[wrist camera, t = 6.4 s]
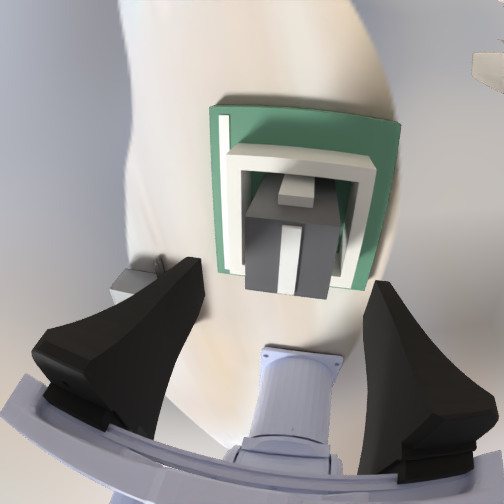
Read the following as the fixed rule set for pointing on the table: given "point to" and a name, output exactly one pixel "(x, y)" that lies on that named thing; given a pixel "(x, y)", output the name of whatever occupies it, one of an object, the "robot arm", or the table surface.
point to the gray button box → (134, 281)
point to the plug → (292, 235)
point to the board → (303, 163)
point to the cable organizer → (489, 68)
